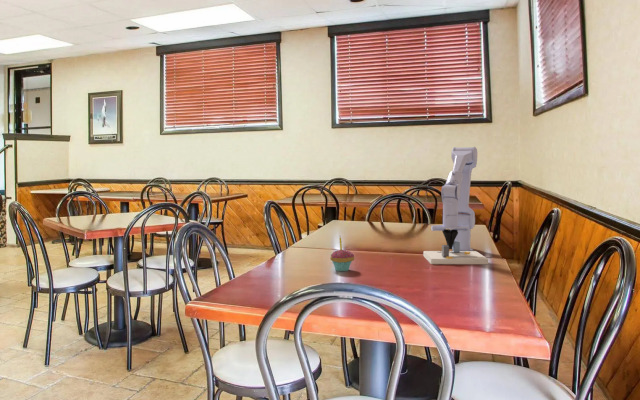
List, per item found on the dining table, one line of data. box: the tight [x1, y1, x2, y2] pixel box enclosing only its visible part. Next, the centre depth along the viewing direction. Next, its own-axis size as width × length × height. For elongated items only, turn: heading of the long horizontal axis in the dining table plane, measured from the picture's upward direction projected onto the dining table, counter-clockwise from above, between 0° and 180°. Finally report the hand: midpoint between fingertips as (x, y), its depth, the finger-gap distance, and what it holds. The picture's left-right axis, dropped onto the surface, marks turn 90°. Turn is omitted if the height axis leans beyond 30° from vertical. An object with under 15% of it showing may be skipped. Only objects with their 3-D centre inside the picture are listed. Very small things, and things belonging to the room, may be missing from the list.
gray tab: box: [441, 244, 450, 257], centre depth 174 cm, size 3×2×4 cm, turn 178°
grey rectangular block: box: [452, 241, 460, 252], centre depth 183 cm, size 3×2×4 cm, turn 178°
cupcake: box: [330, 236, 356, 272], centre depth 162 cm, size 9×8×12 cm
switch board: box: [422, 250, 489, 265], centre depth 178 cm, size 15×21×3 cm
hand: (449, 248), depth 183 cm, fingers closed
